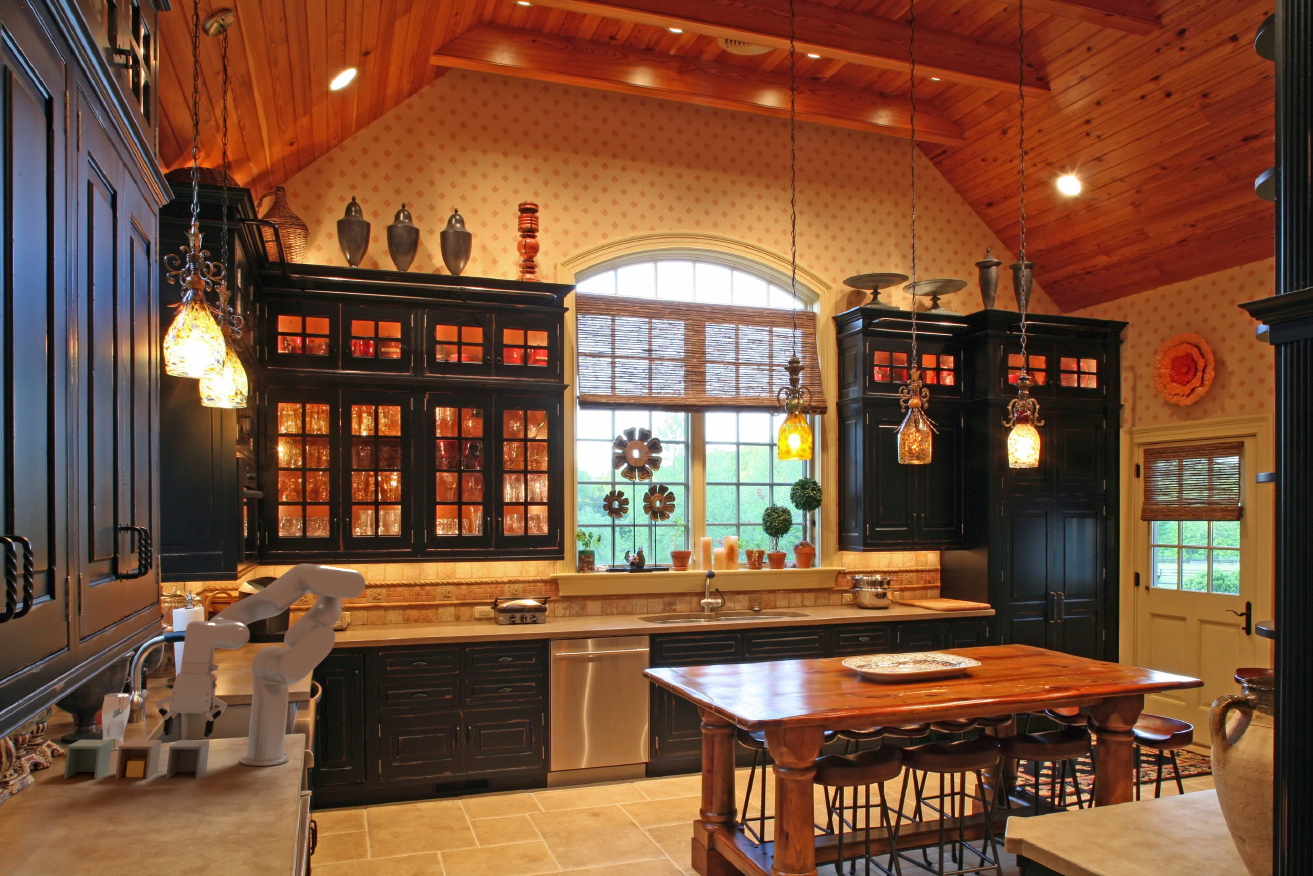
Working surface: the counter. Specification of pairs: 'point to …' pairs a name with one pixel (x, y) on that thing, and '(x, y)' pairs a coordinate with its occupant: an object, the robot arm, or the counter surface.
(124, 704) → the beer glass
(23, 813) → the counter surface
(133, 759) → the orange block
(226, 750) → the counter surface
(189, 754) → the grey open box
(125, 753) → the tan cardboard-coloured box
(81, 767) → the green open box
